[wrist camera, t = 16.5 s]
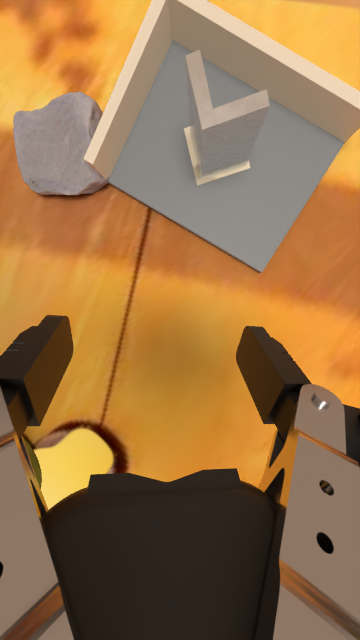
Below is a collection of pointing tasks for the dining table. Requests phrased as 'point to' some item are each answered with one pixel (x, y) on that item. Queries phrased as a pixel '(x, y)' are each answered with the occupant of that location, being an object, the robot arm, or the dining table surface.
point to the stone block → (58, 145)
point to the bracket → (221, 123)
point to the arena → (224, 87)
